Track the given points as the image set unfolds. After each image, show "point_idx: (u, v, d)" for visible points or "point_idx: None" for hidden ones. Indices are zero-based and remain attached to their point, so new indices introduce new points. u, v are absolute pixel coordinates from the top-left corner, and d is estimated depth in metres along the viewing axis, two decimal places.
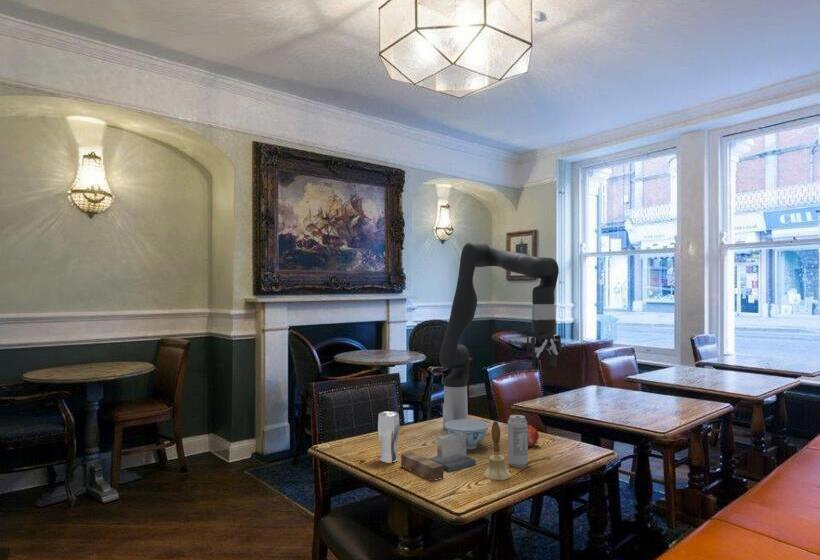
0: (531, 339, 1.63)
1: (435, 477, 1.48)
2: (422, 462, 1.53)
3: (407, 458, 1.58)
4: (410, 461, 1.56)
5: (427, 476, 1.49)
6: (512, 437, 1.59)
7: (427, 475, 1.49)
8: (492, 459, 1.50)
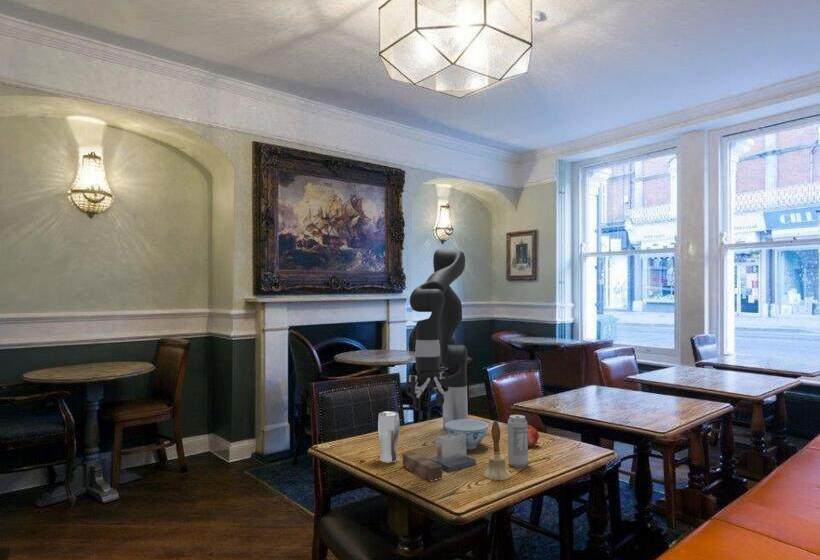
0: (411, 378, 1.51)
1: (433, 477, 1.48)
2: (421, 462, 1.53)
3: (408, 458, 1.58)
4: (410, 461, 1.57)
5: (425, 476, 1.49)
6: (512, 437, 1.59)
7: (425, 475, 1.49)
8: (492, 459, 1.50)
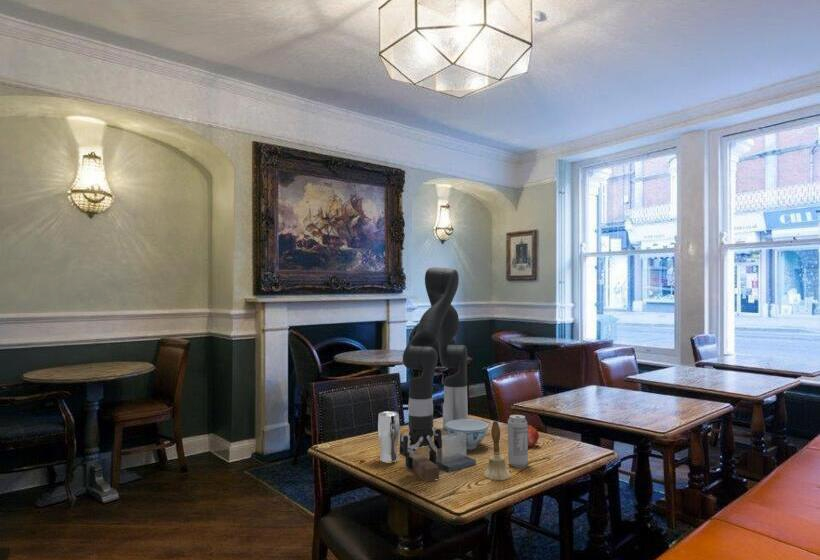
0: (403, 438, 1.51)
1: (429, 478, 1.47)
2: (420, 462, 1.53)
3: None
4: None
5: (422, 476, 1.49)
6: (512, 437, 1.59)
7: (422, 475, 1.49)
8: (492, 459, 1.50)
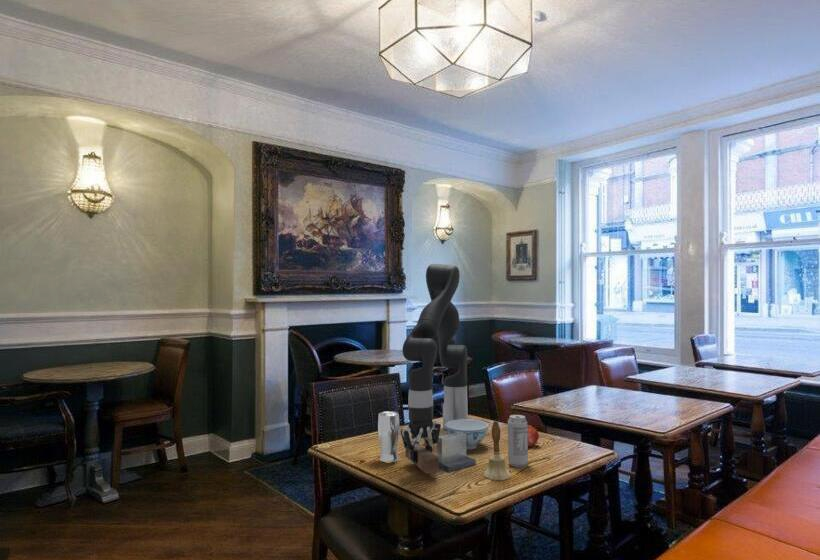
0: (404, 434, 1.51)
1: (429, 468, 1.48)
2: (420, 453, 1.53)
3: None
4: None
5: (422, 467, 1.50)
6: (512, 437, 1.59)
7: (422, 465, 1.50)
8: (492, 459, 1.50)
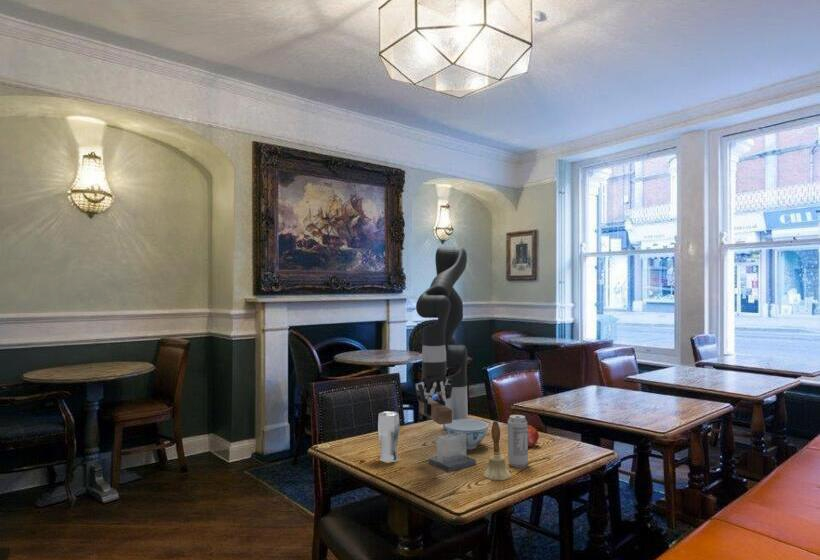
0: (418, 387, 1.55)
1: (443, 420, 1.52)
2: (433, 406, 1.57)
3: (423, 403, 1.63)
4: None
5: (436, 419, 1.54)
6: (512, 437, 1.59)
7: (436, 418, 1.54)
8: (492, 459, 1.50)
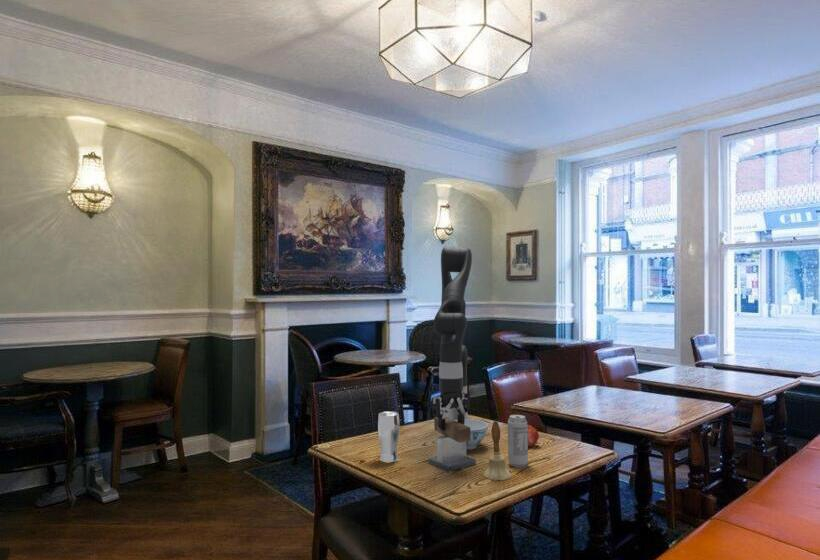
0: (435, 401, 1.58)
1: (461, 438, 1.55)
2: (451, 424, 1.60)
3: None
4: None
5: (454, 437, 1.56)
6: (512, 437, 1.59)
7: (454, 435, 1.57)
8: (492, 459, 1.50)
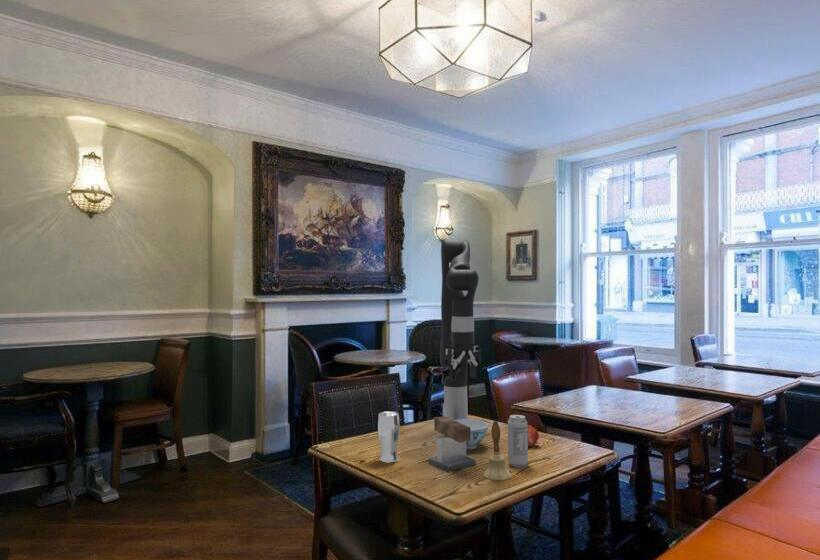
0: (448, 351, 1.65)
1: (461, 438, 1.55)
2: (451, 424, 1.60)
3: (439, 421, 1.66)
4: (441, 424, 1.64)
5: (454, 437, 1.56)
6: (512, 437, 1.59)
7: (454, 435, 1.57)
8: (492, 459, 1.50)
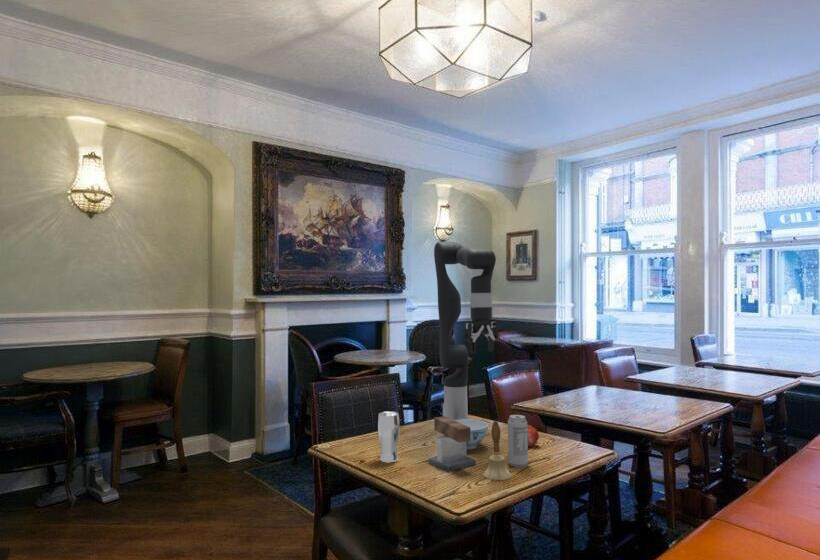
0: (468, 325, 1.76)
1: (461, 438, 1.55)
2: (451, 424, 1.60)
3: (439, 421, 1.66)
4: (441, 424, 1.64)
5: (454, 437, 1.56)
6: (512, 437, 1.59)
7: (454, 435, 1.57)
8: (492, 459, 1.50)
